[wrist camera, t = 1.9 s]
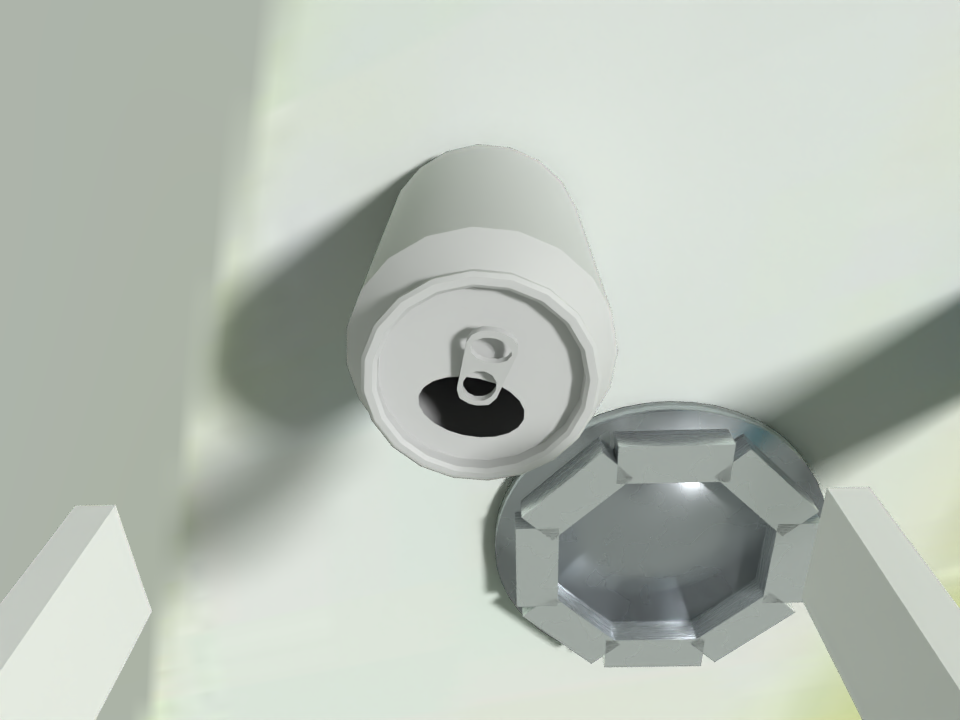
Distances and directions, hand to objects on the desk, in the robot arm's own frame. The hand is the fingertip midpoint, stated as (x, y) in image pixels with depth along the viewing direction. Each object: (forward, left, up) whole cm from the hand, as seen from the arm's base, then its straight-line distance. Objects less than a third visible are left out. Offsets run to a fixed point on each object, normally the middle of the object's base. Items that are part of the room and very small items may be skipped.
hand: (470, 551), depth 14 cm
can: (0, 0, -18) cm, 18 cm away
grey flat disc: (+16, +8, -18) cm, 25 cm away
